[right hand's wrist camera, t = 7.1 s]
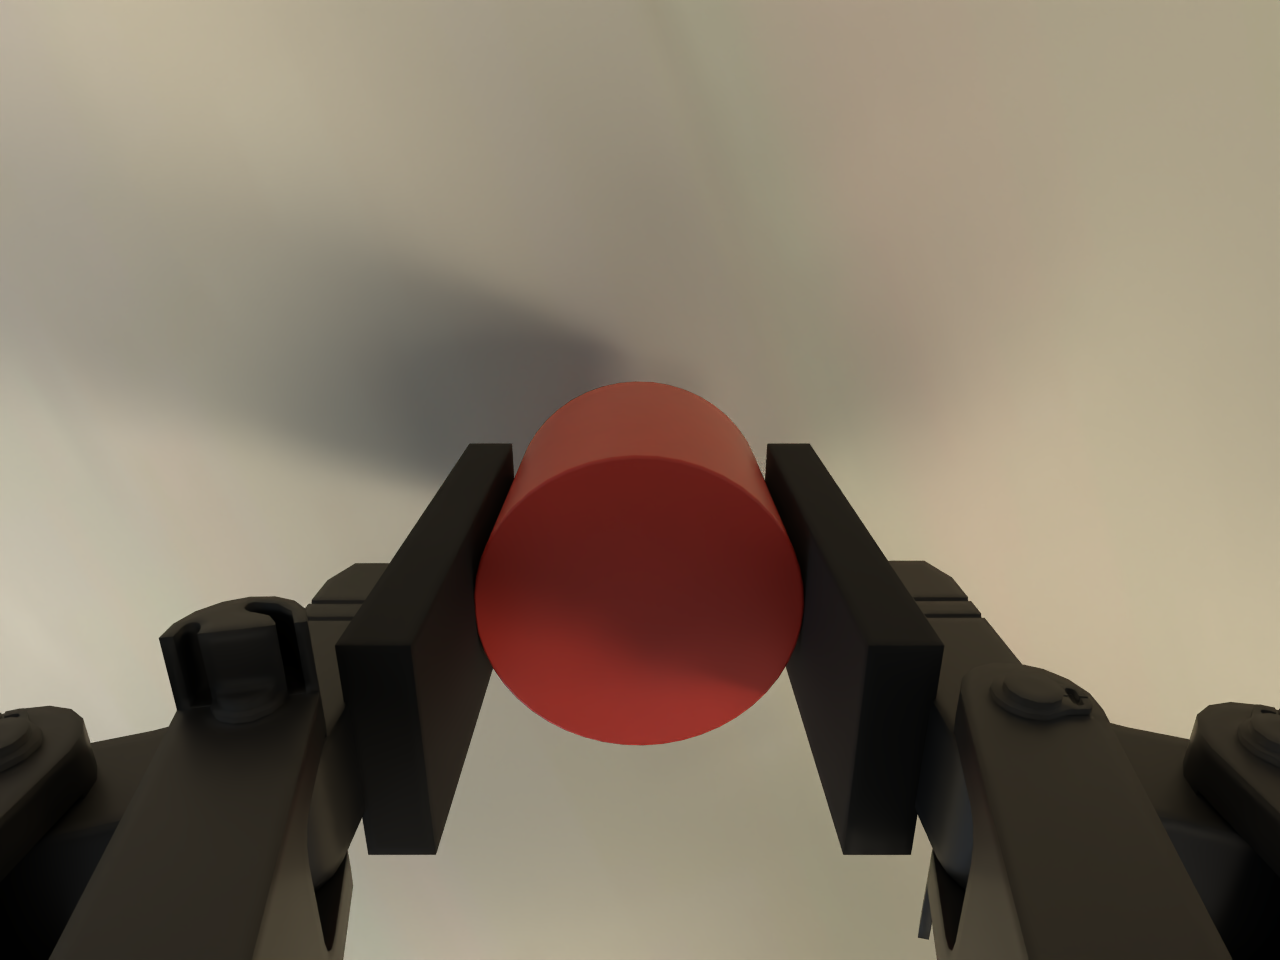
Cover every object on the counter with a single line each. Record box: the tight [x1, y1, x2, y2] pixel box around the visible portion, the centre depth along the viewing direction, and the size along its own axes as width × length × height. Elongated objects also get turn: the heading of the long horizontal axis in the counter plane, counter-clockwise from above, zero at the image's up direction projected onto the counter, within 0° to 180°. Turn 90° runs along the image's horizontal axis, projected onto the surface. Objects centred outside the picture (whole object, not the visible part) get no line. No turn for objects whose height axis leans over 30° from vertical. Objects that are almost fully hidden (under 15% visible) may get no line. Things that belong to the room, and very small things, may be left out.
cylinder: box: [474, 382, 804, 745], centre depth 13 cm, size 5×5×4 cm
